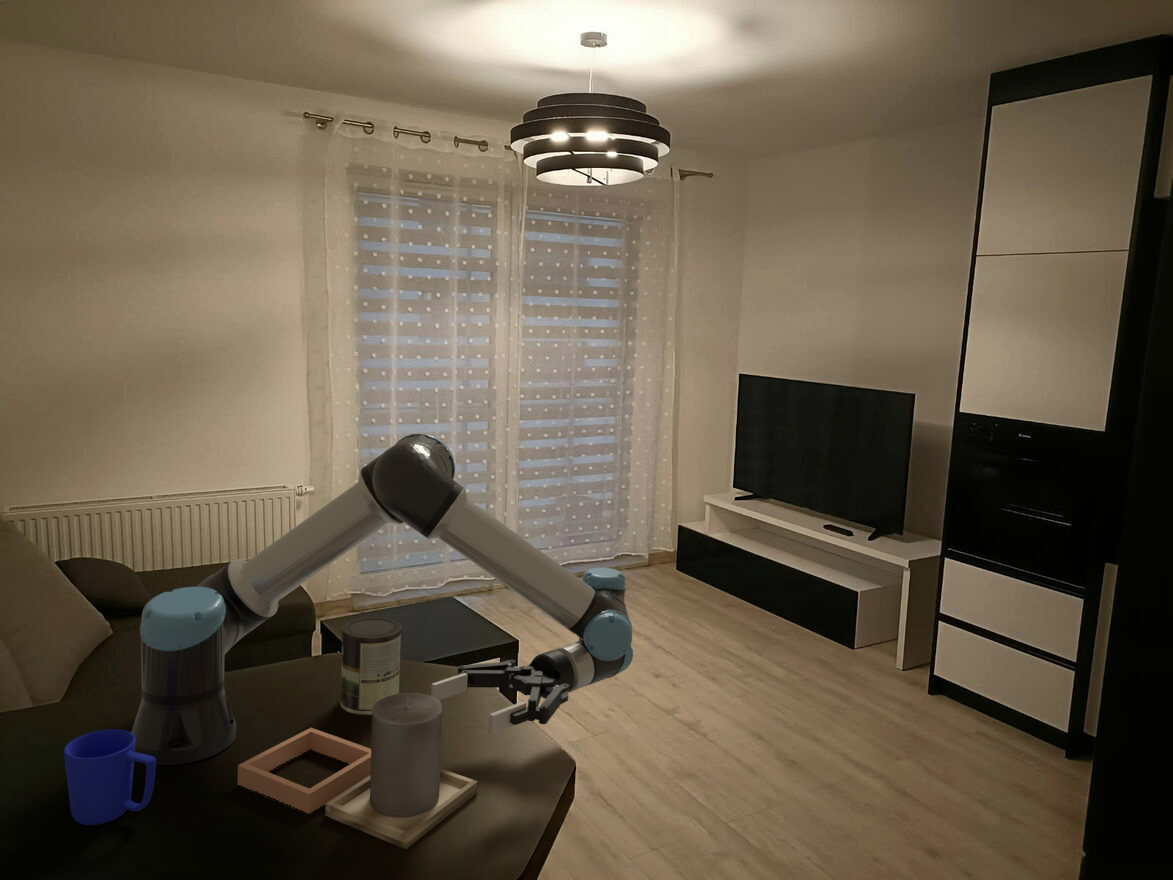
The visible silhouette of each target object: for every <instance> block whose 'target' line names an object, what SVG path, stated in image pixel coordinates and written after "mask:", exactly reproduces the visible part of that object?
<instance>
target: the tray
mask: <svg viewBox="0 0 1173 880" xmlns="http://www.w3.org/2000/svg"><path fill="white" fill-rule="evenodd" d="M478 783H479V782H478V781H477V780H475V779H473V778H469V777H467V776H463V775H460V774H458V773H455V772H452V771H451V770H450V771H449V770H446V769H443V768H441V767H440V791H439V799H438V801H437V803H436V805H434V806H433V807H432V808H431V809H429V810H426V811H424V812H421V813H419V814H417V815H415V816H411V817H400V818H399V817H398V818H396V817H390V816H385V815H383V814H380V813H378V812H377V811H375V810H374V809H373V808H372V806H371V804H370V776H368V777H367V778H365V779H363V780H362V781H360V782H359V783H357V784H356V785H354V786H352V787H351V788H349V789H348V790H346V791H344V792H343V793H341V794H340V795H338V796H337V797H335V798H333V799H332V800H330V801H329V802H327V803H326V804H325V805H324V807H325V808H324V809H325V810H324V813H325V814H324V815H325V817H327V816H328V817H327V818H329V817H330V818H329V819H332V820H335V821H337V822H339V823H341V824H344V825H346V826H349V827H351V828H354V829H355V830H358V831H360V832H363V833H365V834H367V835H370V836H373V837H375V838H377V839H380V840H382V841H385V842H387V843H389V844H392V845H394V846H396V847H398V848H402V849H404V850H407V849H409V848H410V847H411V846H412V845H414V844H415V843H416V842H417V841H418V840H419V839H421V838H422V837H424V836H425V835H426V834H427V833H429V832H430V831H431V830H432V829H434V828H435V827H437V825H439V824H440V823H441V822H443V821H444V820H445V819H446V818H448V816H450V815H452V814H453V813H454V812H456V810H458V809H459V808H460V807H462V805H464V804H465V803H466V802H468V801H469V800H470V799H471V798H473V797H474V796H475V795H476V794H478V787H479V786H478ZM457 808H458V809H457Z"/></svg>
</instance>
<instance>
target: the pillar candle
mask: <svg viewBox="0 0 1173 880" xmlns="http://www.w3.org/2000/svg"><path fill="white" fill-rule="evenodd" d="M442 705H443V704H442V703H441V700H437V699H436V698H435V697H432V696H431V695H430V694H424V693H419V692H402V693H401V692H400V693H399V694H394V695H391V696H387V697H385V698H383V699H381V700H379V701H378V702H376V703H375V705H374V706H373V709H372V715H371V736H370V737H371V740H370V741H371V742H370V743H371V744H370V747H371V748H370V749H371V773H370V804H371V806H372V808H373V809H374V810H375V811H377V812H378V813H380V814H383V815H385V816H390V817H396V818H398V817H399V818H400V817H411V816H415V815H417V814H419V813H421V812H424V811H426V810H429V809H431V808H432V807H433V806H434V805H436V803H437V801H438V799H439V791H440V768H441V767H442V766H441V757H442V755H441V753H442V752H441V750H442V749H441V747H442V723H443V722H442V719H443V717H442V716H443V706H442Z"/></svg>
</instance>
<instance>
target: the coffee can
mask: <svg viewBox="0 0 1173 880" xmlns="http://www.w3.org/2000/svg"><path fill="white" fill-rule="evenodd" d="M402 628H403V626H402V624H401V623H400V622H399V621H397V620H396V619H395V620H394V619H392V618H389V617H380V616H379V617H378V616H376V617H375V616H372V617H371V616H370V617H359V618H355V619H353V620H350V621H347V622H346V623H344V624H343V625H342V626H341V671H340V672H341V679H340V681H341V682H340V683H341V684H340V703H339V704H340V708H341V709H342V710H344V711H345V712H348V713H350V714H353V715H360V716H372V709H373V706H374V705H375V703H376V702H378V701H379V700H381V699H383V698H385V697H387V696H391V695H394V694H399V692H400V688H399V687H400V666H401V665H400V664H401V660H400V659H401V635H402V634H401V633H402V630H403V629H402Z"/></svg>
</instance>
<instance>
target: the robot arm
mask: <svg viewBox="0 0 1173 880" xmlns="http://www.w3.org/2000/svg"><path fill="white" fill-rule="evenodd" d="M455 473H456V465H455V458H454V456H453V453H452V451H451V450H450V448H449V447H448V445H447V444H446V443H445V442H443V441H442V440H441V439H440V438H438V437H436V436H433V435H431V434H428V433H427V434H426V433H413V434H409V435H405V436H404V437H402V438H401V439H399V440H398V441H397V442H395V444H394V445H392V446H390V447H388V449H386V450H385V451H384V452H382V453H381V454H380V455H379V456H377V457H376V458H374V459H373V460H372V461H370V462H369V463H367V464H365V465H364V466H363V467H362V468H361V469H360V470H359V475H358V480H357V482H356V483H355V484H353V485H352V486H351V487H349V488H347V490H345V491H344V492H342V493H341V494H339V495H338V496H337V497H336V498H334V499H332V500H331V501H330V502H328V503H327V504H326V505H324V506H323V507H321V508H320V509H318V510H316V512H314V513H313V514H312V515H310V516H309V517H307V518H306V519H304V520H303V521H301V522H300V523H299V524H297V525H296V526H294V527H293V528H292V529H291V530H289V531H287V532H286V533H285V534H283V535H282V536H281V537H279V538H278V539H277V540H275V541H274V542H272V543H271V544H270V545H268V546H267V547H265V548H264V549H262V550H261V551H260V552H258V553H257V554H255V555H254V556H253V557H251V558H250V559H248V560H245V559H241V558H240V559H234V560H232V561H230V562H229V563H228V564H226V565H225V566H223V567H222V568H221V569H219V570H217V571H216V572H215V573H214V574H210V575H209V576H208V577H206V578H205V579H203V580H202V581H201V582H200V583H199V584H198V585H197V586H187V587H186V586H185V587H180V588H179V587H178V588H175V589H172V590H171V591H165V592H161V593H160V594H157V595H156V596H154V597H153V598H152V599H150V600H149V601H148V602H147V603H146V604H145V606H144V608H143V610H142V613H141V622H140V625H139V633H140V634H139V635H140V655H141V656H140V658H141V659H140V661H141V664H140V665H141V668H140V669H141V700H140V701H141V702H140V705H139V707H138V710H137V714H136V717H135V719H134V724H133V727H132V728H131V730H130V731H129V732H130V733H132V734H133V735H134V736H135V738H136V744H135V753H141V754H146V755H150V756H153V757H155V758H156V766H172V765H173V766H175V765H184V764H189V763H193V762H198V761H201V760H205V759H208V758H211V757H213V756H216V755H217V754H220V753H221V752H222V751H224V750H226V749H227V748H229V746H231V744H233V742H234V741H235V739H236V734H237V733H236V732H237V731H236V730H237V728H236V725H237V724H236V719H235V715H234V713H233V709H232V708H231V704H230V702H229V700H228V697H227V694H226V692H225V655H226V654H227V653H228V652H229V651H230V650H231V648H233V647H234V646H235V645H236V644H237V643H238V642H239V641H240V640H241V639H242V638H243V637H245V636H246V635H247V634H249V633H250V632H251V631H253V630H255V629H256V628H257V627H259V626H260V625H261V624H263V623H264V622H266V621H267V620H269V619H270V618H271V617H273V616H274V615H275V614H276V613H277V611H278V608H279V601H280V600H281V599H283V598H284V597H286V596H287V595H288V594H290V593H291V592H293V591H294V590H296V589H297V588H298V587H300V586H301V585H303V584H304V583H305V582H307V581H308V580H309V579H312V577H314V576H315V575H317V574H318V573H319V572H320V571H322V570H324V569H325V568H326V567H328V566H330V565H331V564H332V563H333V562H335V561H336V560H338V559H340V558H341V557H342V556H343V555H345V554H346V553H348V552H349V551H351V550H352V549H353V548H354V547H356V546H358V545H359V544H360V543H362V542H363V541H365V540H366V539H367V538H368V537H370V536H371V535H373V534H374V533H376V532H377V531H379V530H380V529H381V528H383V527H384V526H385V525H387V524H391V523H392V524H397V525H402V524H404V523H405V524H406V525H407V526H409V527H411V528H412V529H413V530H415V531H417V533H419V534H420V535H422V536H423V537H424V538H426V539H428V540H431V539H436V538H437V539H439V540H440V541H442V542H444V543H445V544H446V545H448V546H449V547H451V549H454V550H455V551H456V552H458V553H459V554H460V555H462V556H463V557H464V558H466V559H468V560H469V561H471V563H472V564H475V565H476V566H477V567H479V568H480V569H482V570H484V571H485V573H487V574H489V575H490V576H492V577H493V578H494V579H496V580H497V581H498V582H500V583H501V584H503V585H505V586H506V587H507V588H508V589H510V590H511V591H513V592H515V593H516V594H517V595H519V596H520V597H522V598H523V599H524V600H526V602H528V603H530V604H531V605H532V606H534V607H535V608H537V609H538V610H540V611H541V612H543V613H544V614H545V615H547V616H548V617H550V618H551V619H553V620H554V621H556V622H557V623H558V624H559V625H561V626H562V627H564V628H565V629H567V630H568V631H570V632H571V633H572V634H574V635H575V636H576V637H578V641H575V642H572V643H569V644H567V645H562V646H561V647H557V648H554V649H551V650H549V651H545V652H542V653H540V654H537V655H536V656H535V657H534V658H533V659H532V661H531V662H530V663H529V665H526V666H525V665H522V666H519V667H518V666H516V660H514V659H510V660H509V659H508V660H505V661H499V662H489V663H479V664H478V663H476V664H467V665H459V666H457V675H453V676H450V677H448V678H445V679H441V680H439V681H437V682H435V681H434V682H433V683H431V690H430V691H431V692H430V694H431V695H430V696H432V697H435V698H436V699H437V700H438V701H441V700H443V699H447V698H450V697H453V696H455V695H458V694H462V693H465V692H466V691H468V688H479V689H480V688H481V689H482V688H483V689H484V688H489V689H490V688H491V689H493V688H498V689H501V688H503V689H504V691H505V692H507V691H509V692H511V691H513V692H515V691H516V692H519V693H521V695H523V696H529V698H528V701H527V702H525V701H520V702H517V703H515V704H513V705H510V706H507V707H504V708H502V709H499V710H497V711H494V712H491V713H489V721H488V733H490V734H491V735H493V734H495V733H498V732H500V731H503V730H505V729H508V728H510V727H513V726H517V725H520V724H523V723H525V722H528V721H529V722H535V721H536V720H537V721H538V724H540V725H547V723H548V722H549V721H550V719H551V718H552V717H553V715H555V713H556V712H557V710H558V709H559V708H560V706H561V705H563V704H565V703H566V702H568V701H569V693H573V692H575V691H577V690H579V689H582V688H584V687H587V686H591V685H593V684H596V683H598V682H600V681H603V680H606V679H610V678H613V677H614V676H616V675H618V674H620V673H623V672H624V671H626V669H628V668H629V667H630V665H631V663H632V661H633V657H634V649H633V648H632V641H633V626H632V622H631V620H630V618H629V614H628V610H627V606H626V603H625V596H626V595H625V593H626V591H627V589H626V576H625V574H624V573H623V572H621V571H620V570H617V569H614V568H612V567H611V568H608V567H593V568H589V569H587V570H585V572H583V575H582V579H580V578H579V577H578V576H576V575H575V574H573V573H572V572H571V571H569V570H568V569H566V568H565V567H564V566H562V565H561V564H560V563H558V562H557V561H556V560H554V559H553V558H551V556H548V555H547V554H545V553H544V552H543V551H542V550H541V549H539V548H538V547H536V546H535V545H533V544H532V543H530V541H528V540H526V539H525V538H523V536H521V535H519V533H517V532H515V531H513V530H512V529H511V528H510V527H508V526H506V524H504V523H502V521H500V520H499V519H498V518H496V517H494V516H493V515H492V514H490V513H489V512H487V511H486V510H484V509H483V508H482V507H480V506H479V505H478V504H476V503H475V502H474V501H472V500H471V499H470V498H468V495H467V491H466V488H465V487H464V486H462V484H460V483H458V482H457V481H455V480H454V478H455V475H456V474H455ZM510 679H511V684H510ZM541 698H543V699H544V701H542V703H541ZM540 703H541V704H540ZM539 705H540V706H539Z"/></svg>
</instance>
